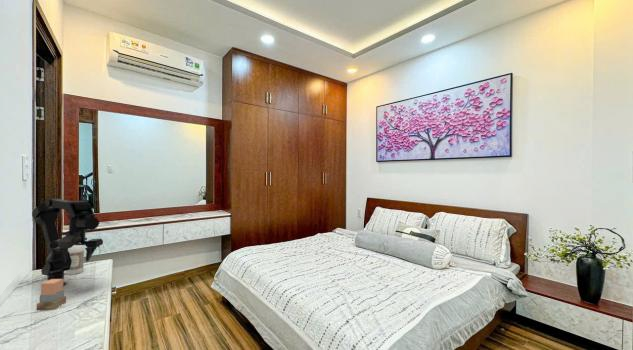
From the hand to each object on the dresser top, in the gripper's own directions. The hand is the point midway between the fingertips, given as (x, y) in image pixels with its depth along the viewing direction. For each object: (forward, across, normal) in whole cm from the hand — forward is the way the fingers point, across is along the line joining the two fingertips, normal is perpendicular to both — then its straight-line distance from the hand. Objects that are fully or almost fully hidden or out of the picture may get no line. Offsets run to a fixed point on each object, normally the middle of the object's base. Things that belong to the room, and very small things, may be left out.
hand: (76, 261), depth 121 cm
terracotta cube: (+7, +2, -16) cm, 18 cm away
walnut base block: (+13, +2, -16) cm, 21 cm away
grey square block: (+10, +2, -16) cm, 19 cm away
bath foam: (+13, -16, +24) cm, 32 cm away
